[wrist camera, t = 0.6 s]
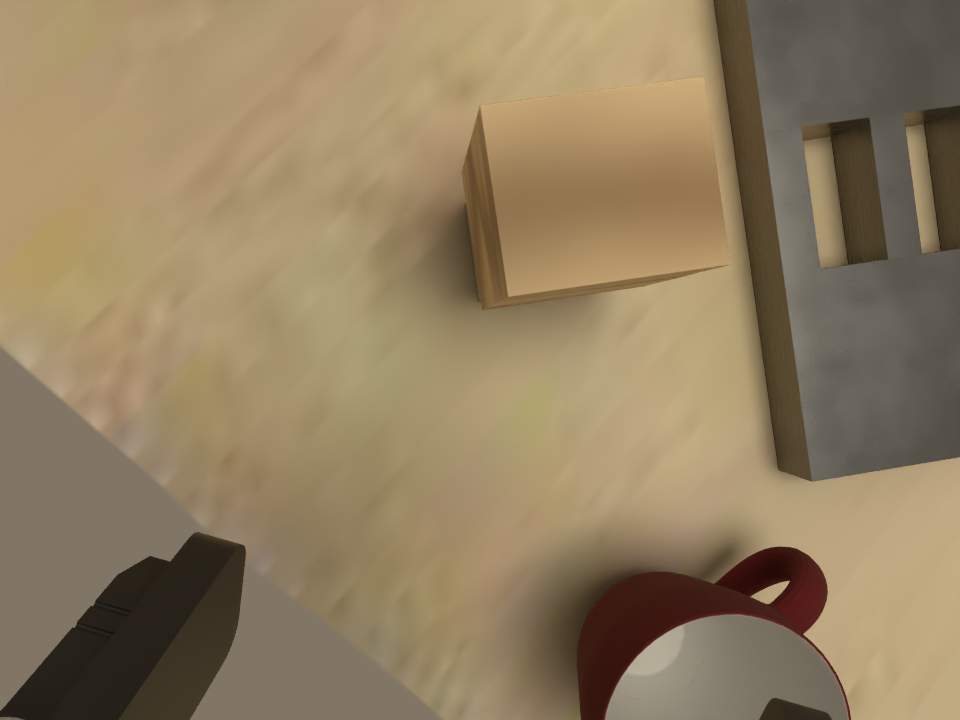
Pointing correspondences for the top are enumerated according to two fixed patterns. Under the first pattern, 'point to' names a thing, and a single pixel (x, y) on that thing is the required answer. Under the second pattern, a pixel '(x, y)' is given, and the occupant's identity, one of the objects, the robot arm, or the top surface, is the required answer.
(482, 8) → the top surface
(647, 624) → the mug
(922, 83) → the dark grey slab
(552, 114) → the tan wooden tall block
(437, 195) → the top surface
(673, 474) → the top surface
